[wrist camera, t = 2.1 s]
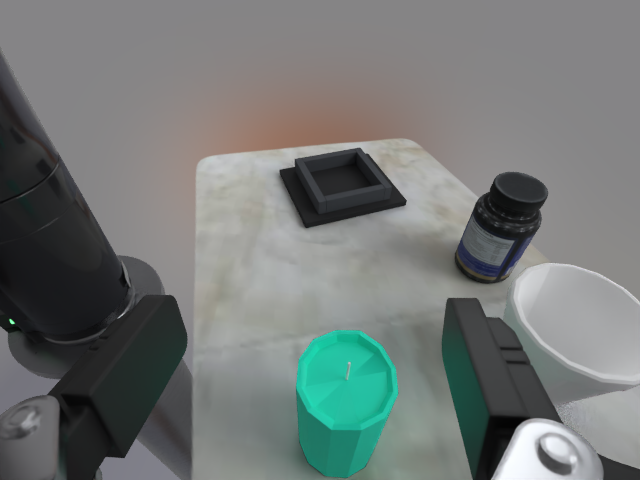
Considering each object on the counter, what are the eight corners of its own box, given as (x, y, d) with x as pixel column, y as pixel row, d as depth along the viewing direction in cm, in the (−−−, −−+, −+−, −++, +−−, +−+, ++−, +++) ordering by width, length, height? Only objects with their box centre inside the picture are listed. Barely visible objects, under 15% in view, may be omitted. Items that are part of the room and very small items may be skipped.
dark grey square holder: (305, 228, 45) (305, 211, 43) (280, 174, 53) (278, 157, 51) (405, 205, 48) (409, 188, 46) (367, 157, 56) (369, 141, 54)
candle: (313, 385, 31) (315, 304, 22) (382, 409, 30) (412, 333, 21) (287, 461, 27) (277, 397, 18) (365, 492, 26) (393, 439, 17)
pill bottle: (490, 241, 44) (529, 163, 36) (521, 280, 40) (573, 202, 32) (443, 249, 43) (474, 171, 35) (470, 290, 38) (512, 211, 31)
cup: (502, 440, 28) (560, 392, 22) (454, 327, 35) (487, 265, 29) (618, 425, 29) (709, 375, 23) (550, 319, 36) (603, 257, 30)
